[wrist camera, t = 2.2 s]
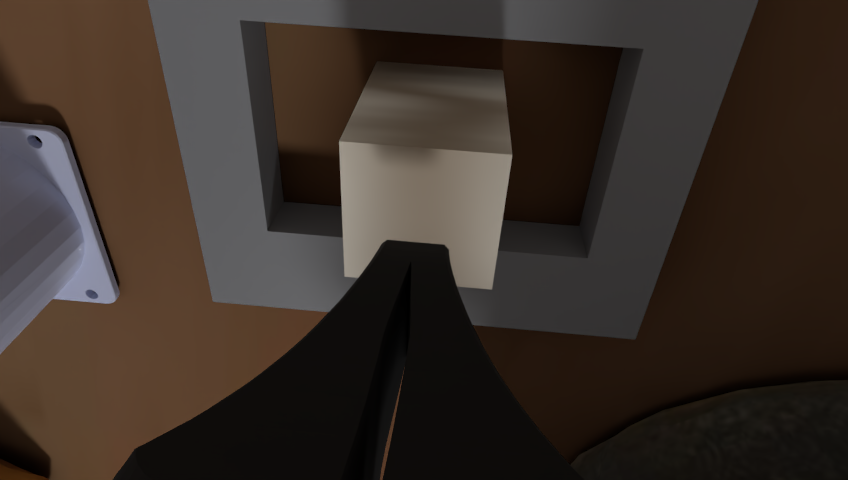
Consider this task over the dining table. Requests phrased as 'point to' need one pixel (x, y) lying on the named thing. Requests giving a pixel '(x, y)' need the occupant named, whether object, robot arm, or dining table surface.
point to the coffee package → (16, 473)
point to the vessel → (734, 438)
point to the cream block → (427, 166)
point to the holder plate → (519, 241)
